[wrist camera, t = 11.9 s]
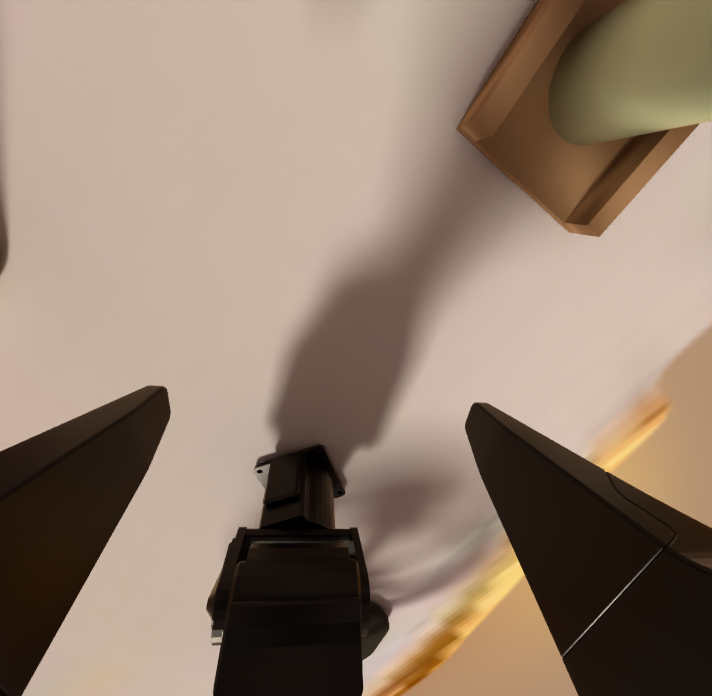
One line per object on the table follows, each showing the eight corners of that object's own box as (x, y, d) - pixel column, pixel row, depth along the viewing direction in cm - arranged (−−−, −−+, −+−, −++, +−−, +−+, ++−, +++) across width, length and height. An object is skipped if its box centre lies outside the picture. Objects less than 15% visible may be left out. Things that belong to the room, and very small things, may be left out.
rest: (569, 232, 21) (599, 236, 18) (456, 129, 17) (476, 119, 15) (729, 43, 17) (791, 20, 15) (624, -136, 14) (684, -201, 11)
